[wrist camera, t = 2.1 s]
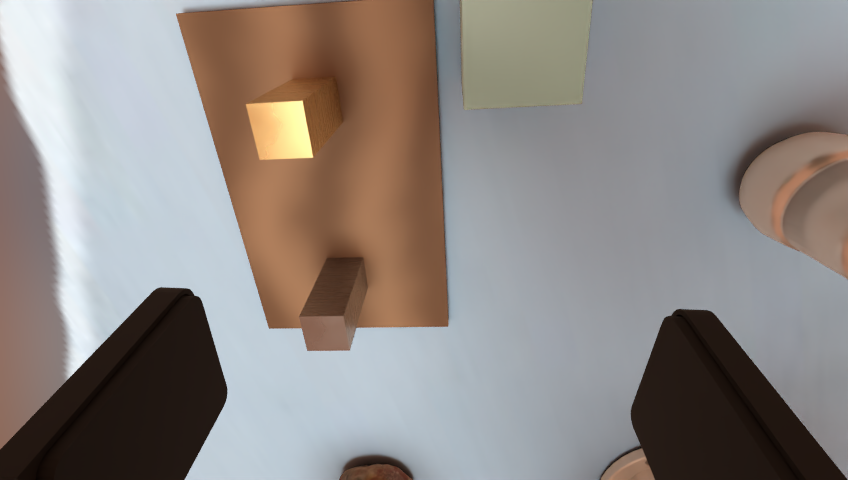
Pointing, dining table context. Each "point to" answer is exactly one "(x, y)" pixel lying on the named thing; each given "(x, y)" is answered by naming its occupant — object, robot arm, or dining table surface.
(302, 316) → the brown post
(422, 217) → the board
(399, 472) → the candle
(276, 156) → the brass post
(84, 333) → the dining table surface
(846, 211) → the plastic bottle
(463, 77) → the olive block
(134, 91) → the dining table surface
